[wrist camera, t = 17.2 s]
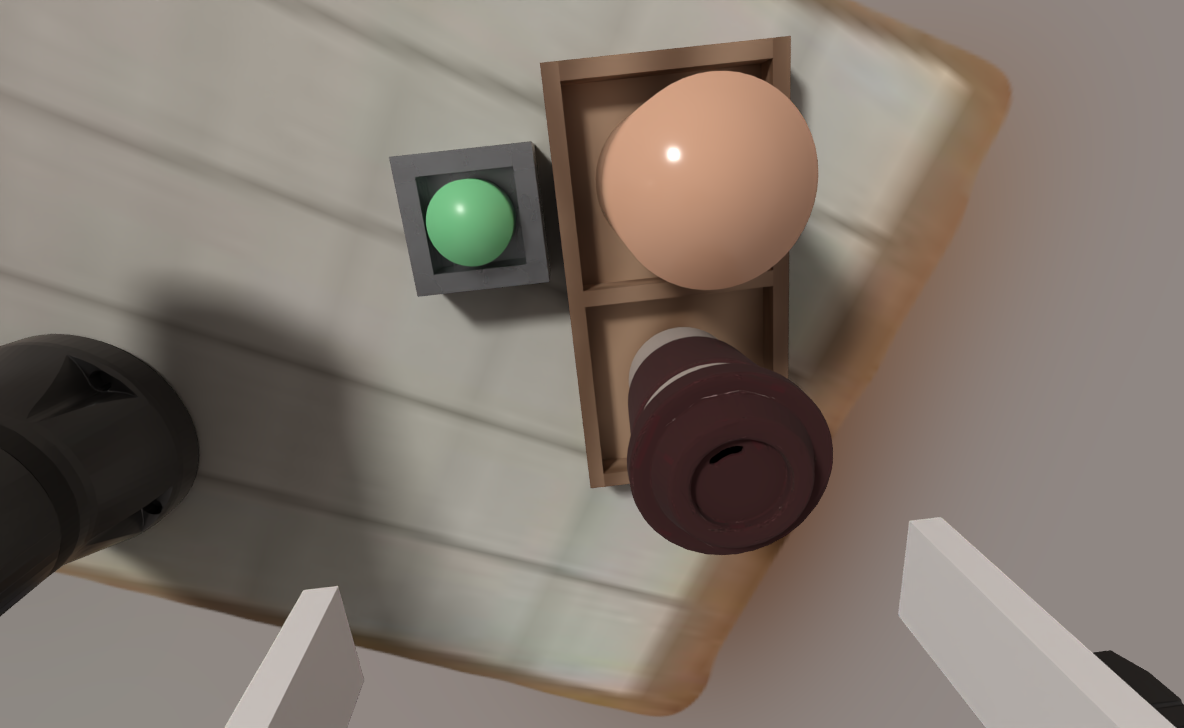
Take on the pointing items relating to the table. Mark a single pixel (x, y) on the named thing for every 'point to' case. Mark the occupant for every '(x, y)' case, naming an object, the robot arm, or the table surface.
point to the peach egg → (709, 180)
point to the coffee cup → (721, 445)
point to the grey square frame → (492, 163)
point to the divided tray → (609, 269)
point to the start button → (470, 221)
